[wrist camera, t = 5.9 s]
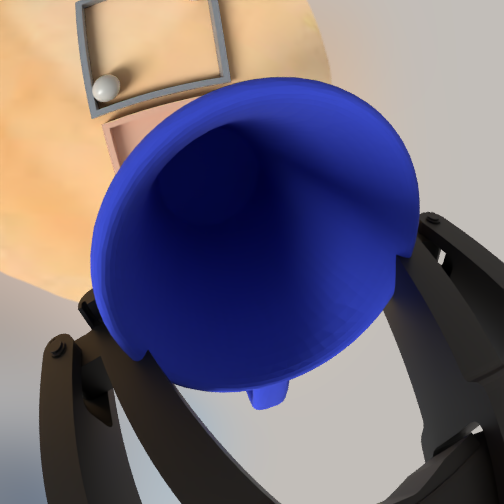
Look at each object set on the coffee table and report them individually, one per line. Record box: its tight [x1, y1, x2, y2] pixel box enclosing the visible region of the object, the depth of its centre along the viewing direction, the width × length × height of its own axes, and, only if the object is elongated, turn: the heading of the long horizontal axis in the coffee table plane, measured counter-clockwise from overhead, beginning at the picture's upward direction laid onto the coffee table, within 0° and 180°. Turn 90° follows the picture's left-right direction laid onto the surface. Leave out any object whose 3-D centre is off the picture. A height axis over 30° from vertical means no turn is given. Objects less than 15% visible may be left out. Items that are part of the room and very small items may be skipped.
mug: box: [91, 77, 420, 410], centre depth 11 cm, size 8×12×10 cm
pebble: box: [92, 74, 120, 102], centre depth 20 cm, size 3×3×3 cm
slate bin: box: [75, 0, 231, 119], centre depth 19 cm, size 15×15×1 cm
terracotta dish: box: [102, 96, 201, 175], centre depth 28 cm, size 15×15×2 cm
